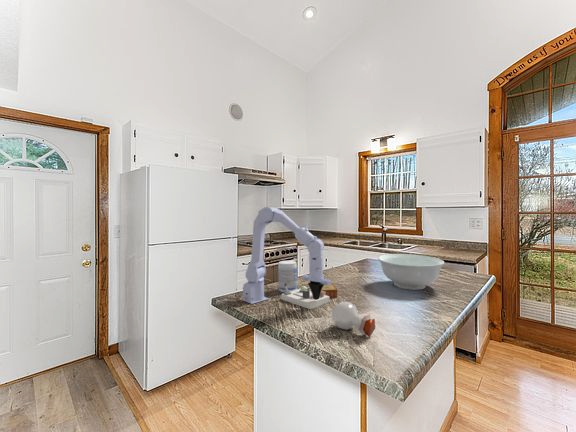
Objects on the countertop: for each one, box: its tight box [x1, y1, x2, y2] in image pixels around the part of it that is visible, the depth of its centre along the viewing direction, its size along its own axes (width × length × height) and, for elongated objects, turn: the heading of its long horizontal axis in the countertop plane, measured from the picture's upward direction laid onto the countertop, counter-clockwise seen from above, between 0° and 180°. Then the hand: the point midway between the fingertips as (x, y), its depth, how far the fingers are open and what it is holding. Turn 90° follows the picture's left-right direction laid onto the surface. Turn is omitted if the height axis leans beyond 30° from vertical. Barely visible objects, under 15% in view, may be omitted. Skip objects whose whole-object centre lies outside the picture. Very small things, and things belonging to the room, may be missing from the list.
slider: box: [303, 289, 311, 298], centre depth 127 cm, size 2×2×3 cm
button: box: [299, 285, 307, 292], centre depth 136 cm, size 3×3×2 cm
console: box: [281, 288, 331, 310], centre depth 131 cm, size 13×18×4 cm
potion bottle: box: [331, 301, 376, 338], centre depth 99 cm, size 9×10×15 cm
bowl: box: [377, 253, 445, 291], centre depth 153 cm, size 32×32×15 cm
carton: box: [321, 282, 338, 299], centre depth 142 cm, size 8×16×4 cm, turn 4°
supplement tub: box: [277, 260, 298, 293], centre depth 147 cm, size 10×10×15 cm
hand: (316, 299), depth 123 cm, fingers closed
